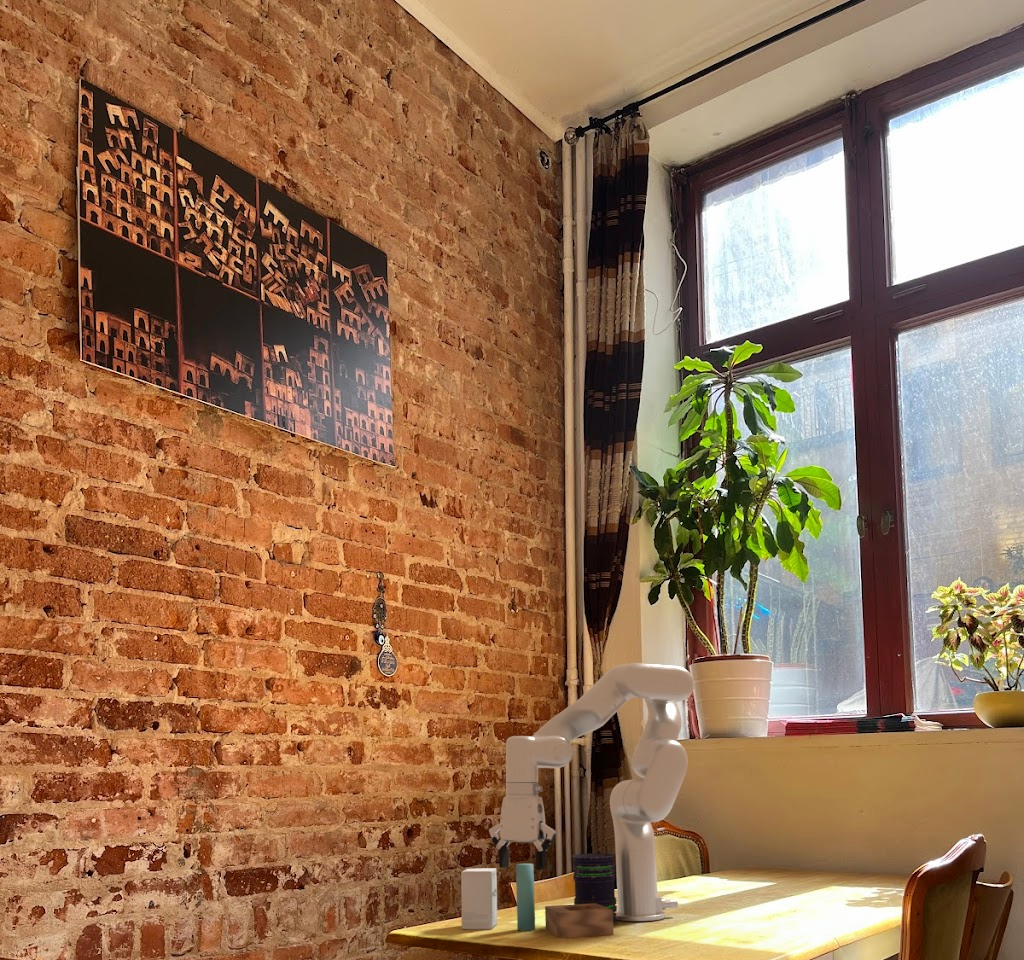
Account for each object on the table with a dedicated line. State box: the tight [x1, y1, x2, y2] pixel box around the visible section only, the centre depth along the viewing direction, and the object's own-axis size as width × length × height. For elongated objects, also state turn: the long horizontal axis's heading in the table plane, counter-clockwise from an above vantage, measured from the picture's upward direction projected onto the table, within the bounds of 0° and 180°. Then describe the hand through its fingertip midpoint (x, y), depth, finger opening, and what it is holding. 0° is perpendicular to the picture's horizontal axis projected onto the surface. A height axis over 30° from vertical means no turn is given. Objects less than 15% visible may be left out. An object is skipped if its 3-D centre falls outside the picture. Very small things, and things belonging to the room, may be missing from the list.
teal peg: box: [515, 863, 536, 932], centre depth 256 cm, size 4×4×14 cm
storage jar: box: [572, 852, 618, 926], centre depth 263 cm, size 10×10×15 cm
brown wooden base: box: [544, 903, 615, 939], centre depth 250 cm, size 12×12×5 cm
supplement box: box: [460, 867, 498, 930], centre depth 261 cm, size 7×7×13 cm
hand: (522, 868), depth 257 cm, fingers open, 9 cm apart
